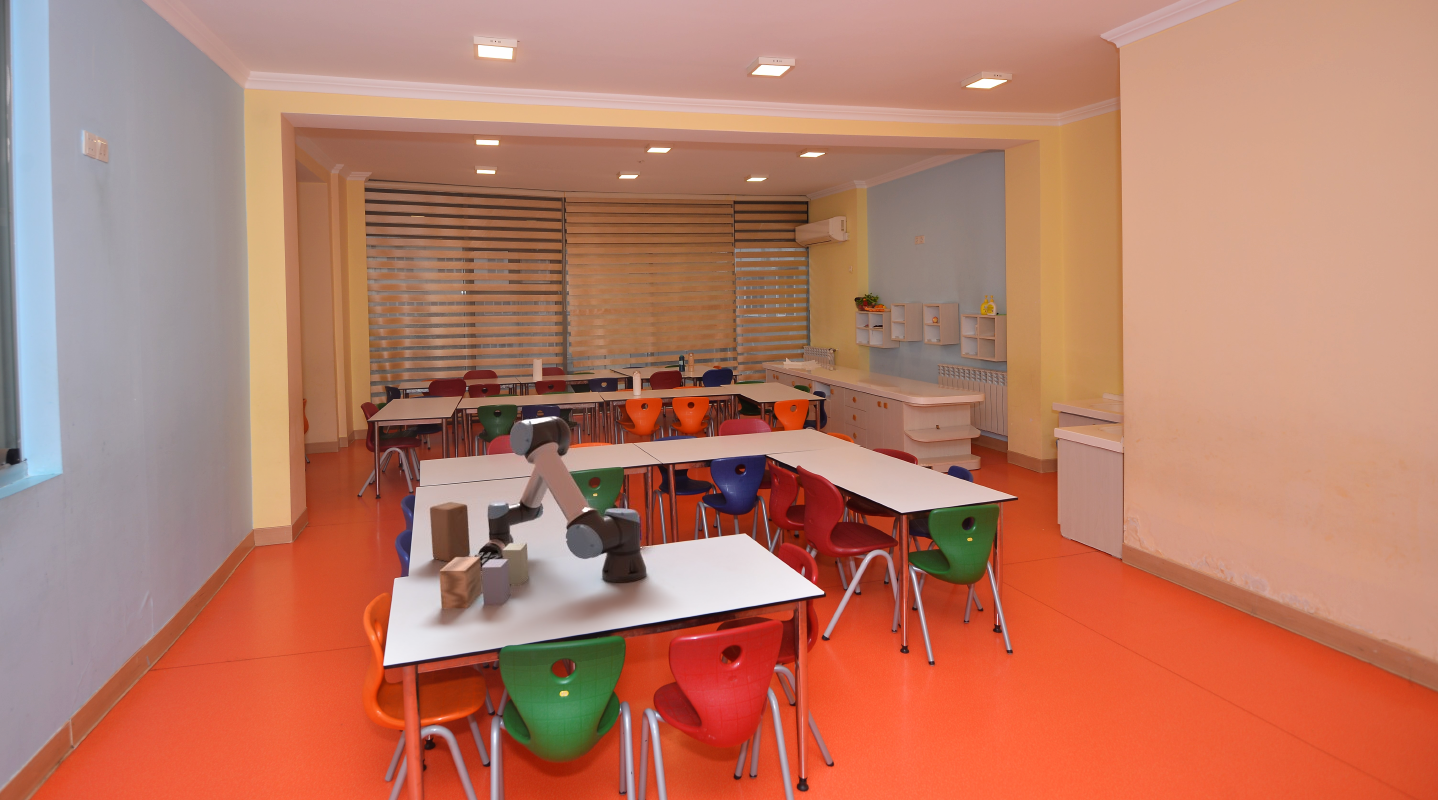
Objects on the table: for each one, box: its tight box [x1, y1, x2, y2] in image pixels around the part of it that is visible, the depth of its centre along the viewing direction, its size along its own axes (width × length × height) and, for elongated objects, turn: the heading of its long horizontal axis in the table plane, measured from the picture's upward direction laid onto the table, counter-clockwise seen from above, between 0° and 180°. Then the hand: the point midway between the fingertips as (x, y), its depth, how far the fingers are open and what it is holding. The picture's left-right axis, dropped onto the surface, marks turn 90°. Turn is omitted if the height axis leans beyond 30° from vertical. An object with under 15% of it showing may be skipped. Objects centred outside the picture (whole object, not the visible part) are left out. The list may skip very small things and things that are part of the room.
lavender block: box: [481, 559, 511, 606], centre depth 247 cm, size 6×8×12 cm
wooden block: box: [429, 501, 471, 563], centre depth 294 cm, size 10×10×20 cm
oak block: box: [438, 556, 483, 610], centre depth 248 cm, size 8×14×12 cm, turn 178°
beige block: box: [503, 542, 530, 586], centre depth 265 cm, size 6×8×12 cm
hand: (469, 574), depth 255 cm, fingers closed
